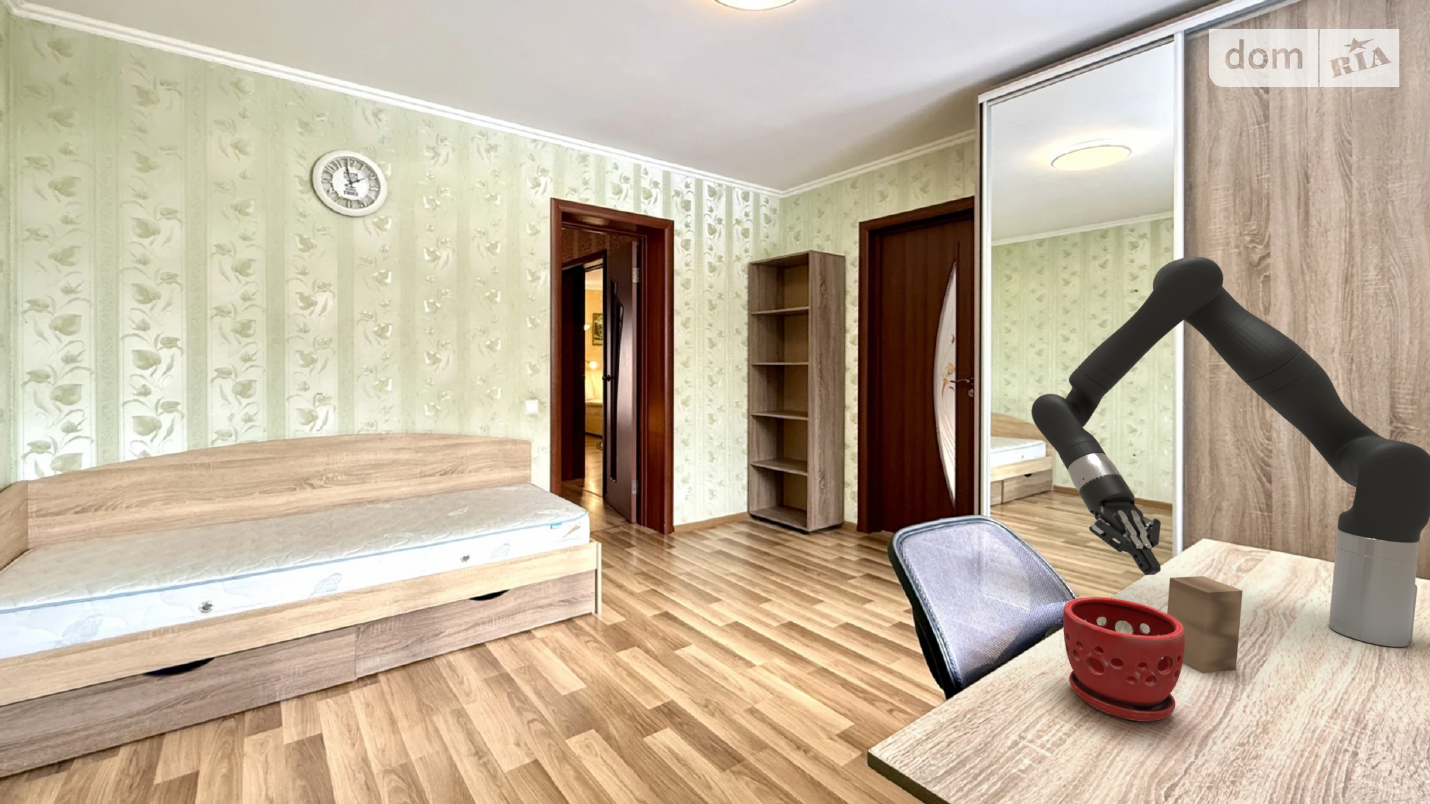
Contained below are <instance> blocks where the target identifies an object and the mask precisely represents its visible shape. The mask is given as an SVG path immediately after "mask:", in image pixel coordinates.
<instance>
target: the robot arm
mask: <svg viewBox="0 0 1430 804" xmlns="http://www.w3.org/2000/svg"><path fill="white" fill-rule="evenodd" d="M1223 285H1224V272H1223V271H1222V269H1221V267H1220V265H1219V264H1218V263H1217V262H1215V261H1214V260H1212V259H1210V258H1207V257H1203V256H1185V257H1181V258H1178V259H1175V260H1172V261H1170V262H1167V263H1166V264H1165V265H1163V266H1162V267H1161V268H1160V269H1158V271H1157V272H1156V274H1155V275H1154V278H1153V282H1152V291H1151V293H1150V294H1149V295H1148V297H1147V298H1146V300H1145V301H1144V302H1143V303H1142V305H1141V306H1140V307H1139V308H1138V310H1136V312H1135V313H1134V314H1133V315H1132V316H1130V317H1129V318H1128V320H1127V321H1125V322H1124V324H1122V325H1121V326H1120V327H1119V328H1118V329H1116V331H1114V332H1113V333H1112V334H1111V335H1109V336H1108V337H1107V338H1106V339H1105V340H1104V341H1102V343H1101V344H1099V345H1098V346H1097V347H1096V348H1095V349H1093V351H1092V352H1091V353H1090V354H1089V355H1088V356H1087V357H1086V358H1085V359H1084V360H1083V361H1082V362H1081V363H1080V364H1079V365H1078V366H1077V368H1075V369H1074V370H1073V372H1072V373H1071V374H1070V376H1069V377H1068V382H1069V384H1070V386H1071V389H1070V391H1069V393H1068V394H1067V395H1066V397H1063V396H1061V395H1059V394H1055V393H1045V394H1042V395H1040V396H1038V397H1037V398H1035V400H1034V401H1033V403H1032V406H1031V411H1030V412H1031V418H1032V421H1033V422H1034V425H1035V427H1036V428H1037V429H1038V430H1039V432H1040V433H1041V434H1042V435H1043V437H1044V438H1045V439H1046V440H1047V442H1048V443H1049V444H1050V445H1051V446H1052V447H1053V448H1054V450H1055V451H1056V453H1057V454H1058V457H1060V459H1061V462H1062V463H1063V465H1064V466H1065V469H1066V470H1067V472H1068V474H1069V477H1070V479H1071V481H1072V483H1073V486H1074V487H1075V490H1077V492H1078V495H1079V496H1080V498H1081V499H1082V501H1083V503H1084V504H1085V506H1086V508H1087V510H1088V512H1089V513H1090V514H1091V515H1093V516H1094V519H1095V522H1094V523H1092V524H1091V525H1090V526H1089V527H1088V530H1089V531H1090V533H1092V534H1094V535H1095V536H1096V537H1098V538H1099V539H1100V540H1101V541H1104V542H1105V543H1106V544H1107V545H1108V546H1109V547H1111V548H1112V549H1114V550H1116V551H1117V552H1118V553H1122V552H1125V553H1127V554H1128V555H1129V556H1131V557H1132V559H1133V560H1134V563H1136V566H1137V567H1138V569H1139V570H1140V571H1141V572H1142V573H1143V575H1144V576H1156V574H1158V573H1160V572H1161V570H1162V566H1161V564H1160V562H1159V560H1158V559H1157V557H1156V556H1155V554H1154V553H1153V551H1152V549H1153V548H1154V547H1156V546H1158V545H1159V542H1160V534H1161V526H1162V525H1161V523H1162V522H1161V521H1160V519H1158V518H1153V519H1152V520H1151V519H1150V518H1148V517H1146V516H1144V512H1143V511H1142V510H1141V509H1139V508H1138V507H1137V506H1136V504H1135V501H1136V500H1135V498H1136V496H1135V494H1134V493H1133V491H1132V490H1131V488H1130V487H1129V485H1128V483H1127V482H1126V480H1125V479H1124V477H1123V475H1122V474H1121V473H1120V470H1119V469H1118V468H1117V466H1116V465H1115V464H1114V463H1113V462H1112V460H1111V458H1109V457H1108V456H1107V454H1106V452H1105V451H1104V449H1103V447H1102V446H1101V444H1100V443H1099V442H1098V440H1097V438H1095V436H1094V435H1093V434H1092V433H1090V432H1089V431H1088V430H1086V429H1085V428H1084V427H1085V426H1086V425H1087V423H1088V422H1089V421H1090V420H1091V418H1092V416H1093V414H1095V412H1096V409H1097V408H1098V406H1099V405H1100V403H1101V401H1102V399H1103V397H1104V396H1105V395H1106V394H1108V393H1109V391H1111V390H1112V389H1113V388H1114V387H1115V386H1116V385H1117V383H1119V382H1120V380H1122V379H1123V377H1125V376H1126V375H1127V374H1128V373H1129V372H1130V371H1131V369H1133V368H1134V366H1135V365H1137V363H1138V362H1139V361H1140V360H1141V359H1142V358H1143V357H1144V356H1145V355H1146V354H1147V353H1149V351H1150V350H1151V349H1152V348H1153V347H1154V346H1155V345H1156V344H1157V343H1158V342H1159V341H1161V339H1162V338H1164V337H1165V336H1166V335H1168V333H1169V332H1171V331H1172V330H1173V329H1174V328H1175V327H1178V325H1179V324H1180V323H1182V322H1183V321H1184V322H1186V323H1188V324H1189V325H1190V326H1191V327H1192V328H1193V329H1195V330H1197V332H1199V334H1200V335H1202V336H1203V338H1205V340H1206V341H1207V342H1208V343H1209V344H1210V345H1211V346H1212V348H1213V350H1215V351H1216V352H1217V354H1218V355H1219V356H1220V357H1221V358H1222V359H1223V361H1224V362H1225V363H1226V364H1227V365H1228V366H1229V367H1230V368H1231V369H1232V370H1233V371H1234V372H1235V374H1237V376H1238V377H1239V378H1240V379H1241V380H1242V381H1243V382H1244V383H1245V384H1246V385H1247V386H1249V388H1251V390H1253V391H1254V392H1255V393H1256V394H1257V395H1258V396H1259V397H1260V398H1261V399H1262V400H1263V401H1264V402H1266V403H1267V404H1268V405H1269V406H1270V407H1271V408H1272V409H1273V410H1274V411H1276V413H1278V414H1279V415H1280V416H1281V417H1283V418H1284V420H1286V421H1287V422H1288V423H1289V424H1291V425H1292V426H1293V427H1295V429H1297V431H1299V432H1300V433H1301V434H1302V435H1303V436H1304V437H1305V438H1306V440H1308V441H1309V442H1310V443H1311V445H1312V446H1313V447H1314V448H1315V449H1316V450H1317V451H1318V453H1319V454H1320V455H1321V457H1322V458H1323V459H1324V461H1326V463H1327V464H1328V465H1329V466H1330V468H1331V469H1332V470H1333V472H1335V474H1336V475H1338V476H1339V478H1341V480H1343V481H1344V482H1345V483H1347V484H1348V485H1350V486H1352V487H1353V488H1355V493H1354V496H1353V497H1354V498H1353V504H1352V506H1351V508H1350V509H1349V510H1348V509H1347V510H1346V511H1342V512H1341V513H1340V514H1339V515H1338V519H1337V530H1336V531H1337V532H1336V541H1335V555H1334V565H1333V575H1332V585H1331V597H1330V598H1331V599H1330V608H1329V615H1328V616H1329V617H1328V627H1329V628H1330V629H1332V630H1333V631H1335V632H1337V633H1338V634H1341V635H1344V636H1346V637H1348V638H1352V639H1354V640H1358V641H1362V642H1365V643H1369V644H1374V645H1377V646H1385V647H1397V648H1404V647H1408V646H1409V645H1410V642H1412V641H1413V633H1414V627H1415V623H1414V622H1415V615H1416V613H1415V612H1416V608H1417V607H1416V606H1417V595H1418V586H1417V584H1416V581H1417V580H1416V579H1417V578H1416V577H1417V569H1418V556H1419V545H1420V539H1421V533H1422V531H1423V530H1424V529H1425V527H1426V526H1427V525H1428V523H1429V521H1430V454H1429V452H1427V451H1426V450H1425V449H1423V448H1422V447H1420V446H1418V445H1415V444H1413V443H1409V442H1406V441H1402V440H1401V441H1400V440H1397V439H1396V440H1395V439H1389V438H1386V437H1383V436H1382V435H1380V434H1378V433H1377V432H1376V431H1374V430H1373V429H1371V428H1370V427H1369V426H1367V424H1365V423H1364V422H1362V421H1361V420H1360V419H1359V418H1358V417H1356V416H1355V415H1354V414H1353V413H1352V412H1351V411H1350V410H1349V409H1348V408H1347V406H1346V405H1345V403H1343V401H1342V400H1341V398H1340V396H1339V394H1338V391H1337V389H1336V388H1335V385H1334V384H1333V382H1332V379H1330V376H1329V375H1328V373H1327V371H1326V370H1325V369H1324V368H1323V367H1322V366H1321V365H1320V364H1319V363H1318V362H1317V360H1316V359H1314V358H1313V357H1312V356H1311V355H1310V354H1308V352H1307V351H1305V350H1304V349H1303V348H1302V347H1301V346H1300V345H1299V344H1298V343H1296V342H1295V341H1294V340H1293V339H1291V338H1290V337H1289V336H1287V335H1286V334H1285V333H1283V332H1281V331H1280V330H1278V328H1275V327H1274V326H1272V325H1271V324H1269V323H1267V322H1266V321H1264V320H1263V319H1261V318H1259V317H1258V316H1256V315H1255V314H1252V313H1251V312H1250V311H1248V310H1247V309H1246V308H1245V307H1243V306H1242V305H1241V304H1240V303H1239V302H1238V301H1237V300H1236V299H1235V298H1234V297H1233V296H1232V295H1231V294H1230V293H1229V292H1228V291H1227V290H1226V289H1225V287H1224V286H1223ZM1114 539H1115V540H1114Z"/></svg>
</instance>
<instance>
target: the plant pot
mask: <svg viewBox="0 0 1430 804" xmlns="http://www.w3.org/2000/svg"><path fill="white" fill-rule="evenodd" d="M1062 618H1063V622H1062V624H1063V625H1062V626H1063V628H1062V629H1063V638H1064V646H1065V651H1066V652H1065V653H1066V656H1067V659H1068V662H1069V665H1070V667H1071V669H1072V671H1071V672H1070V673H1069V675H1068V681H1069V684H1070V686H1071V688H1072V690H1073V691H1074V693H1076V695H1078V697H1079V698H1080V699H1082V700H1083V701H1084V702H1085V703H1087V704H1088V705H1089V706H1091V707H1093V708H1095V710H1096V709H1097V710H1099V711H1100V712H1103V713H1106V714H1108V715H1110V716H1111V715H1112V716H1114V717H1117V718H1120V719H1121V718H1122V719H1126V720H1131V721H1132V722H1155V721H1159V720H1162V719H1166V718H1167V717H1169V716H1171V714H1173V712H1174V710H1175V708H1176V699H1175V698H1174V696H1173V695H1172V692H1173V690H1174V689H1175V687H1176V685H1177V683H1178V681H1179V679H1180V676H1181V672H1182V667H1183V664H1184V663H1183V655H1184V647H1185V633H1184V627H1183V625H1182V624H1181V623H1180V622H1179V621H1178V620H1177V619H1175V618H1174V617H1172V616H1170V615H1169V614H1167V613H1166V612H1164V611H1162V610H1159V609H1157V608H1155V607H1152V606H1149V605H1146V604H1142V603H1139V602H1135V601H1130V600H1125V599H1120V598H1112V597H1104V596H1103V597H1101V596H1089V597H1088V596H1087V597H1086V596H1085V597H1079V598H1075V599H1071V600H1069V601H1068V602H1066V603H1065V604H1064V606H1063V617H1062ZM1099 618H1104V619H1105V621H1106V622H1105V623H1104V624H1099V623H1098V619H1099ZM1120 621H1122V622H1126V623H1128V624H1129V626H1131V628H1132V633H1126V632H1125V633H1124V632H1120V631H1118V630H1117V629H1116V625H1117V623H1118V622H1120ZM1142 624H1145V625H1146V626H1148V628H1149V632H1148V633H1147V632H1144V631H1143V630H1142V628H1141V625H1142Z"/></svg>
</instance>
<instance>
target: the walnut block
mask: <svg viewBox="0 0 1430 804" xmlns="http://www.w3.org/2000/svg"><path fill="white" fill-rule="evenodd" d="M1168 583H1169V586H1168V596H1167V597H1168V598H1167V599H1168V600H1167V614H1169V615H1170V616H1172V617H1174V618H1175V619H1177V620H1178V621H1179V622H1180V623H1181V624H1182V625H1183V627H1184V633H1185V647H1184V655H1183V664H1184V665H1185V666H1188V667H1190V668H1191V669H1193V670H1195V671H1197V672H1199V673H1200V674H1205V673H1218V672H1230V671H1231V672H1232V671H1237V662H1238V660H1237V659H1238V652H1239V650H1238V649H1239V639H1240V638H1239V637H1240V627H1241V616H1242V615H1241V614H1242V601H1243V590H1241V589H1239V588H1236V587H1234V586H1232V585H1231V586H1230V585H1228V584H1225V583H1223V582H1220V581H1217V580H1214V579H1212V578H1209V577H1206V576H1203V575H1201V576H1200V575H1199V576H1179V577H1178V576H1177V577H1169V582H1168Z"/></svg>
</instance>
